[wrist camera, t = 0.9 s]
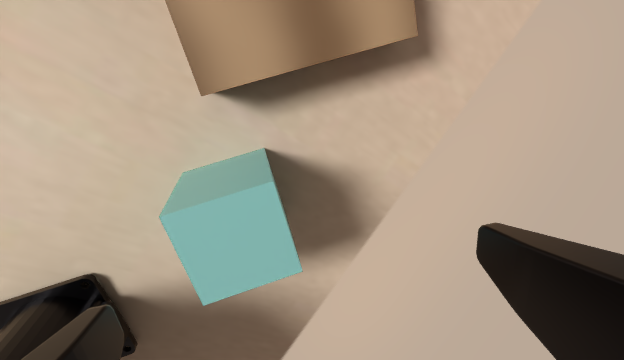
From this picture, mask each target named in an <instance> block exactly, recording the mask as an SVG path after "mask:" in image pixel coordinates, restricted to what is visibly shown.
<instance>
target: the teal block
mask: <svg viewBox="0 0 624 360" xmlns="http://www.w3.org/2000/svg"><path fill="white" fill-rule="evenodd" d="M159 218H160V220H161V222H162V224H163V226H164V228H165V230H166V232H167V234H168V236H169V238H170V240H171V242H172V244H173V246H174V248H175V250H176V252H177V254H178V256H179V258H180V260H181V262H182V264H183V266H184V268H185V270H186V272H187V274H188V276H189V278H190V280H191V282H192V284H193V286H194V288H195V290H196V292H197V294H198V296H199V298H200V300H201V303H202V305H203V306H204V305H207V304H210V303H213V302H216V301H219V300H222V299H225V298H228V297H230V296H233V295H236V294H239V293H242V292H245V291H248V290H251V289H253V288H256V287H259V286H262V285H265V284H268V283H271V282H274V281H277V280H279V279H282V278H285V277H288V276H291V275H294V274H297V273H300V272H303V271H302V267H301V264H300V261H299V257H298V254H297V250H296V247H295V244H294V240H293V237H292V234H291V230H290V227H289V223H288V220H287V217H286V214H285V211H284V207H283V204H282V201H281V198H280V195H279V192H278V189H277V186H276V183H275V180H274V176H273V173H272V170H271V167H270V164H269V161H268V158H267V155H266V152H265V149H264V148H263V149H260V150H256V151H253V152H250V153H246V154H243V155H240V156H236V157H233V158H230V159H227V160H223V161H220V162H217V163H213V164H210V165H207V166H203V167H200V168H197V169H193V170H190V171H187V172H184V173H182V175H181V177H180V179H179V181H178V182H177V184H176V186H175V188H174V190H173V192H172V194H171V195H170V197H169V199H168V201H167V203H166V205H165V207H164V208H163V210H162V212H161V214H160V216H159Z"/></svg>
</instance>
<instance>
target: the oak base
mask: <svg viewBox="0 0 624 360" xmlns="http://www.w3.org/2000/svg"><path fill="white" fill-rule="evenodd" d="M165 1H166V4H167V7H168V9H169V12H170V15H171V17H172V20H173V23H174V25H175V28H176V30H177V33H178V36H179V38H180V41H181V44H182V46H183V49H184V52H185V54H186V57H187V60H188V62H189V65H190V68H191V70H192V73H193V76H194V78H195V81H196V83H197V86H198V89H199V91H200V94H201V96H204V95H208V94H212V93H215V92H219V91H222V90H226V89H229V88H233V87H237V86H240V85H244V84H247V83H251V82H254V81H258V80H262V79H265V78H269V77H272V76H276V75H279V74H283V73H287V72H290V71H294V70H297V69H301V68H304V67H308V66H312V65H315V64H319V63H322V62H326V61H329V60H333V59H336V58H340V57H344V56H347V55H351V54H354V53H358V52H361V51H365V50H369V49H372V48H376V47H379V46H383V45H386V44H390V43H394V42H397V41H401V40H404V39H408V38H411V37H415V36H418V31H417V22H416V13H415V4H414V0H165Z"/></svg>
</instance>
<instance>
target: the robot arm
mask: <svg viewBox="0 0 624 360" xmlns="http://www.w3.org/2000/svg"><path fill="white" fill-rule="evenodd" d="M476 254H477V258H478V260H479V262H480V264H481V265H482V267H483V268H484V269H485V271H486V272H487V273H488V275H489V276H490V278H491V279H492V281H493V282H494V283H495V285H496V286H497V287H498V289H499V290H500V292H501V293H502V294H503V296H504V297H505V299H506V300H507V301H508V303H509V304H510V305H511V307H512V308H513V309H514V311H515V312H516V313H517V314H518V316H519V317H520V318H521V319H522V321H523V322H524V323H525V324H526V325H527V326H528V328H529V329H530V330H531V331H532V332H533V333H534V334H535V336H536V337H537V338H538V339H539V340H540V341H541V343H543V345H544V346H545V347H546V348H547V349H548V350H549V352H550V353H551V354H552V355H553V356H554V358H555V359H556V360H624V255H622V254H618V253H615V252H611V251H607V250H603V249H599V248H595V247H591V246H587V245H583V244H579V243H575V242H571V241H567V240H563V239H559V238H555V237H551V236H547V235H543V234H539V233H535V232H532V231H528V230H523V229H519V228H516V227H512V226H508V225H504V224H500V223H492V224H486V225H482V226H481V227H480V228H479V230H478V240H477V250H476ZM84 282H87V283H89V284H90V285H86V284H85V283H84ZM127 346H130V347H127ZM136 346H137V342H136V340H135V338H134V337H133V335H132V334H131V332H130V328H129V327H128V325H127V324H126V322H125V321H124V319H123V317H122V316H121V314H120V313H119V311H118V310H117V308H116V306H115V305H114V303H113V302H111V301H110V299H109V298H108V296H107V295H106V293H105V291H104V290H103V288H102V287H101V285H100V284H99V282H98V281H97V279H96V278H95V277H94V276H92V275H88V274H87V275H82V276H79V277H76V278H73V279H70V280H67V281H64V282H61V283H58V284H55V285H52V286H48V287H45V288H42V289H39V290H36V291H33V292H30V293H27V294H24V295H21V296H18V297H15V298H11V299H8V300H5V301H2V302H0V360H120V359H121V357H124V356H127V355H129V354H132V353H133V352H134V351H135V349H136Z"/></svg>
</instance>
